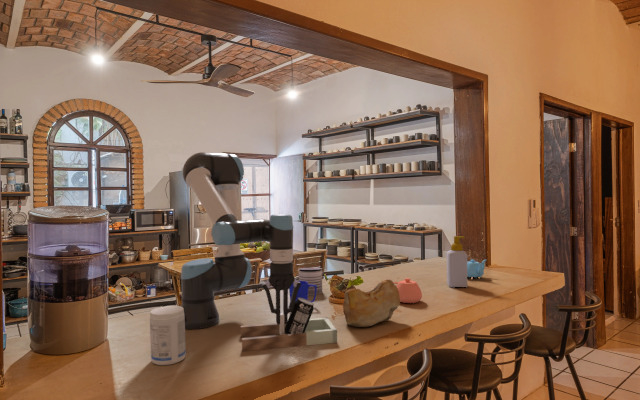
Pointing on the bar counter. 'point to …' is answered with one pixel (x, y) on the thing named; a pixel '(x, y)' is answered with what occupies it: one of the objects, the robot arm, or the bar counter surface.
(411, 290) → the sugar bowl
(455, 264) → the soap bottle
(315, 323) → the pale grey box
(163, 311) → the supplement tub
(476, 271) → the teapot
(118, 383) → the bar counter surface
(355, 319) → the rough brown rock
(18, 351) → the bar counter surface
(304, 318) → the beverage can
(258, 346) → the trough
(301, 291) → the mug
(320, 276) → the can
